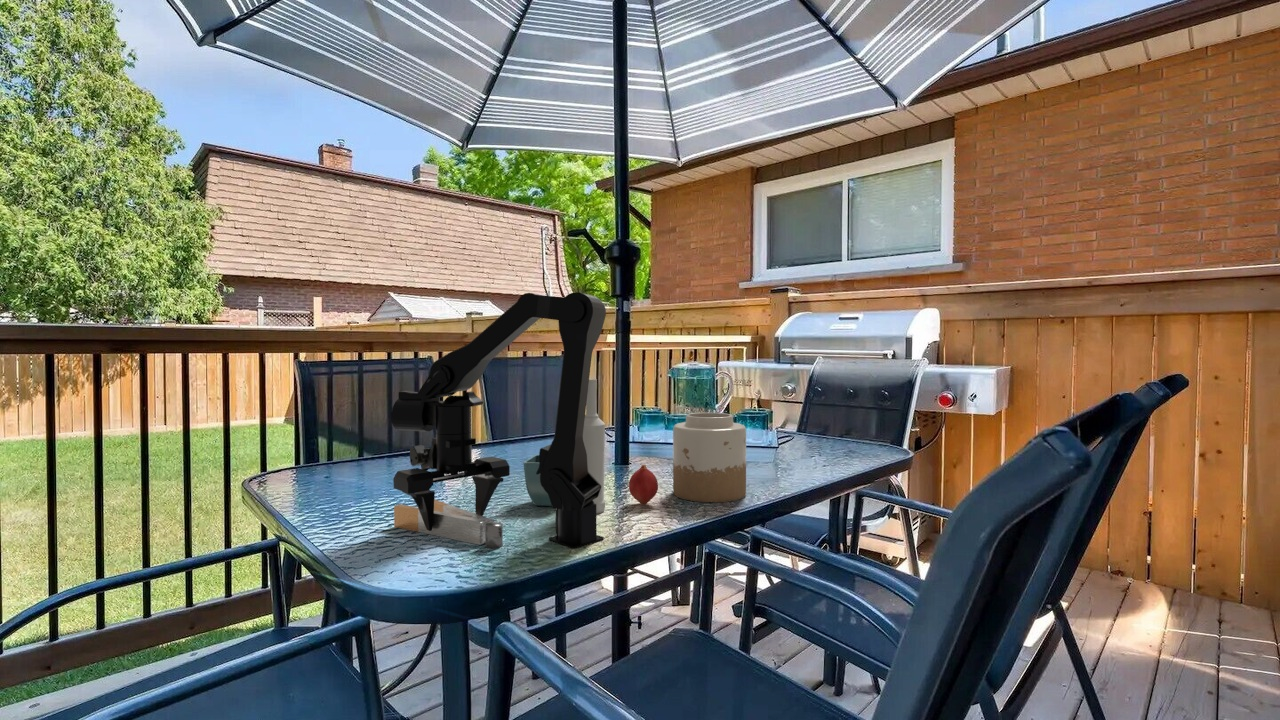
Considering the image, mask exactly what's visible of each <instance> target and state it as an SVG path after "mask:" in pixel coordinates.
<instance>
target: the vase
mask: <svg viewBox="0 0 1280 720" xmlns="http://www.w3.org/2000/svg"><path fill="white" fill-rule="evenodd" d="M673 425H674V426H673V429H672V453H673V454H672V464H673V465H672V488H673V489H672V490H673V495H674V496H676V497H677V498H678V499H679V498H680V499H683V500H685V501H689V500H690V501H691V502H696V501H698V502H697V503H708V502H718V503H729V501H730V502H735V501H739V500H741V499H743V498H744V497H745V496H746V494H747V429H746V428H747V427H746V426H745V425H744V424H743V423H742V424H741V423H738V422H734V416H733V414H730V413H726V412H725V413H723V412H692V413H688V414H686V416H685V421H683V422H679V423H676V424H673ZM738 499H739V500H738Z"/></svg>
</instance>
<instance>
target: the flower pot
mask: <svg viewBox="0 0 1280 720" xmlns="http://www.w3.org/2000/svg"><path fill="white" fill-rule="evenodd" d="M539 463H540V460H539V454H534V455H533V456H531V457H530V458H528V459H526V460H525V461H524V462H523V471H524V481H525V488H526V491H527V493H528V496H529V497H530V500H531V502H532V503H533V505H535V506H539V507H540V506H543V507H544V506H546V507H548V506H549V507H552V504H551V501H550V498H549V496H548V493H547V492H546V491H545V490H544V488H543V487H542V486H541V484H540V474H536V472H537V470H538V468H539Z"/></svg>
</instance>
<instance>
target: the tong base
mask: <svg viewBox="0 0 1280 720" xmlns="http://www.w3.org/2000/svg"><path fill="white" fill-rule="evenodd" d="M434 511H439V512H444V513H449V514H455V515H460V516H465V517H471V518H476V519H481V520H485V522H486V525H485V538H486V543H485V548H486V549H488V550H491V549H492V550H493V549H494V550H495V549H499V548H502V547H503V545H504V541H503V539H504V538H503V537H504V536H503V535H504V533H503V531H504V529H503V527H504V526H503V524H504V523H502V522H499V521H498V522H497V521H495V520H494V519H492V518H489V517H487V516H484V515H483V516H480V515H478V514H476V512H475V513H474V512H472V511H468V510H465V509H464V508H460V507H458V506H454V505H451V504H449V503H445V502H443V501H440V500H439V499H435V498H434Z"/></svg>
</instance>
